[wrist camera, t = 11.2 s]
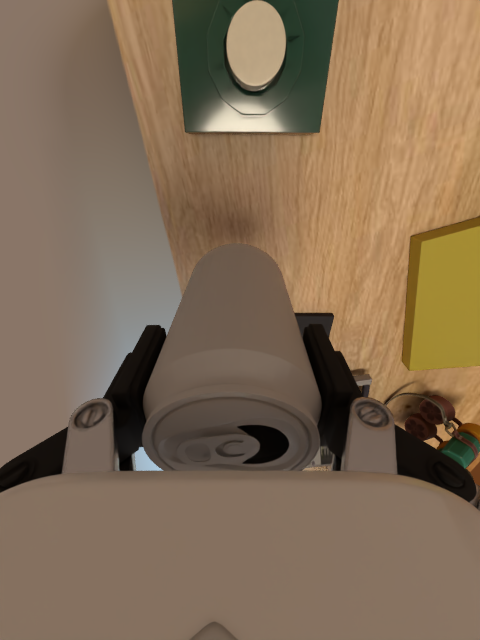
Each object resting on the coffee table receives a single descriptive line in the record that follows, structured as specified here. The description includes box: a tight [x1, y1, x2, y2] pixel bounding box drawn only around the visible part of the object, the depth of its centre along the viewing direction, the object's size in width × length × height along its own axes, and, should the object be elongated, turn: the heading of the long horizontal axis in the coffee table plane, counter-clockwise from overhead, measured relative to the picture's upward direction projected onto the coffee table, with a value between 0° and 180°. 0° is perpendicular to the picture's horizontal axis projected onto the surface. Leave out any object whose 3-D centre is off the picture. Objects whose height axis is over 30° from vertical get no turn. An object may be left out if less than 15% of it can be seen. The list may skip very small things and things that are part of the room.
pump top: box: [226, 0, 286, 91], centre depth 18 cm, size 4×4×2 cm
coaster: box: [294, 313, 334, 339], centre depth 39 cm, size 11×11×1 cm
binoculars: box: [385, 393, 480, 478], centre depth 43 cm, size 14×14×15 cm
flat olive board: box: [402, 217, 480, 371], centre depth 35 cm, size 12×2×24 cm
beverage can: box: [142, 243, 322, 471], centre depth 13 cm, size 6×6×12 cm
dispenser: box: [172, 0, 339, 134], centre depth 20 cm, size 12×9×5 cm
